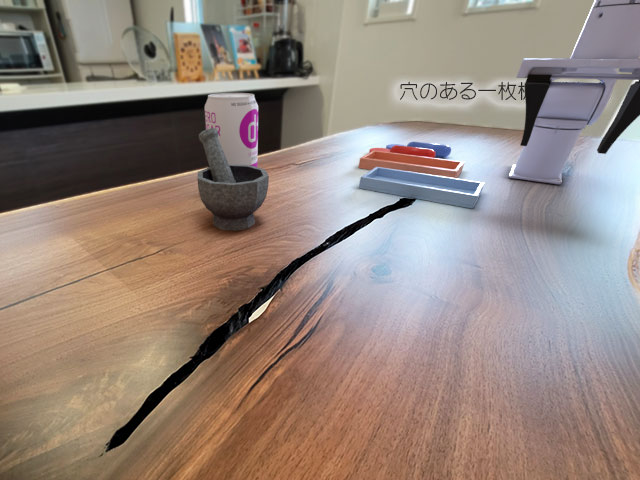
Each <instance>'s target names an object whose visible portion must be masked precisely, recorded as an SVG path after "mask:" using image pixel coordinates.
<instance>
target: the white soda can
mask: <svg viewBox="0 0 640 480" xmlns="http://www.w3.org/2000/svg"><path fill="white" fill-rule="evenodd" d="M204 118H205V120H204V121H205V130H206V129H210V128H216V129H217V131H218V139H219V142H220V144H221V147H222V149H223V152H224V154H225V157H226V159H227V162H228V164H229V165H230V164H232V165H251V166H255V167H258V155H259V153H258V151H259V147H258V146H259V105H258V102H257V100H256V97H255V94H254V93H248V92H246V93H245V92H218V93H211V94H208V95H207V99H206V102H205V104H204ZM207 168H209V163H208V162H207Z"/></svg>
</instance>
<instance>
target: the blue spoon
mask: <svg viewBox="0 0 640 480" xmlns="http://www.w3.org/2000/svg"><path fill="white" fill-rule="evenodd" d="M395 145H399V146H408V147H417V148H426V149H432V150H434V151H435V154H436V155H435V158H447V157H449V156H450V155H451V153H452V148H451V146H450V145H448V144H442V143H441V144H440V143H430V142H421V141H420V142H419V141H410V142H408V144H407V145H404V144H398V143H397V144H396V143H390V144H386V145H385V148H386V149H391V148H392V147H393V146H395Z"/></svg>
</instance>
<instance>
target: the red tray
mask: <svg viewBox="0 0 640 480" xmlns="http://www.w3.org/2000/svg"><path fill="white" fill-rule="evenodd" d="M464 166H465V161H462V160H454V159H445V158H439V157H435V158H430V157H422V156H414V155H406V154H398V153H390V152H382V151H372V152H370V153H369V152H368V153H367V154H365V155H363V156H361V157H359V162H358V167H357V168H358V169H363V170H368V171H371V170H372V169H374V168H375V167H382V168H389V169H395V170H402V171H409V172H416V173H423V174H430V175H436V176H443V177H450V178H457V179H458V178H459V176H460V175H461V173H462V171H463V168H464Z"/></svg>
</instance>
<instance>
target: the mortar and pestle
mask: <svg viewBox="0 0 640 480" xmlns="http://www.w3.org/2000/svg"><path fill="white" fill-rule="evenodd" d="M198 139H199V142H200V143H201V144H202V145H203V149H204V152H205V157H206V160H207V164H208V163H209V168H208V167H206V168H204V169H201V170H199V171H197V188H198V189H197V190H198V193H199V197H200V201H201V202H202V204H203V205H204V207H205V209H206V210H208V211H209V212H210V213H211V214H212V225H213V227H216V228H218V229H219V230H222V231H233V232H236V231H242V230H247V229H250V228H251V227H252V226H254V225H255V223H256V219H255V214H254V213H255V212H257V211H258V210H259V209H260V208H261V207H262V205H263V204H264V202H265V200H266V198H267V194H268V190H269V180H270V179H269V178H270V175H269V174H268V172H267V169H265V168H261V167H259V166H257V167H255V166H251V165H232V164H230V165H229V164H228V162H227V159H226V157H225V154H224V152H223V149H222V147H221V144H220V142H219V139H218V131H217V129H216V128H210V129H206V128H205V129H204V130H202V131H201V132H200V133H199V134H198Z"/></svg>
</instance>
